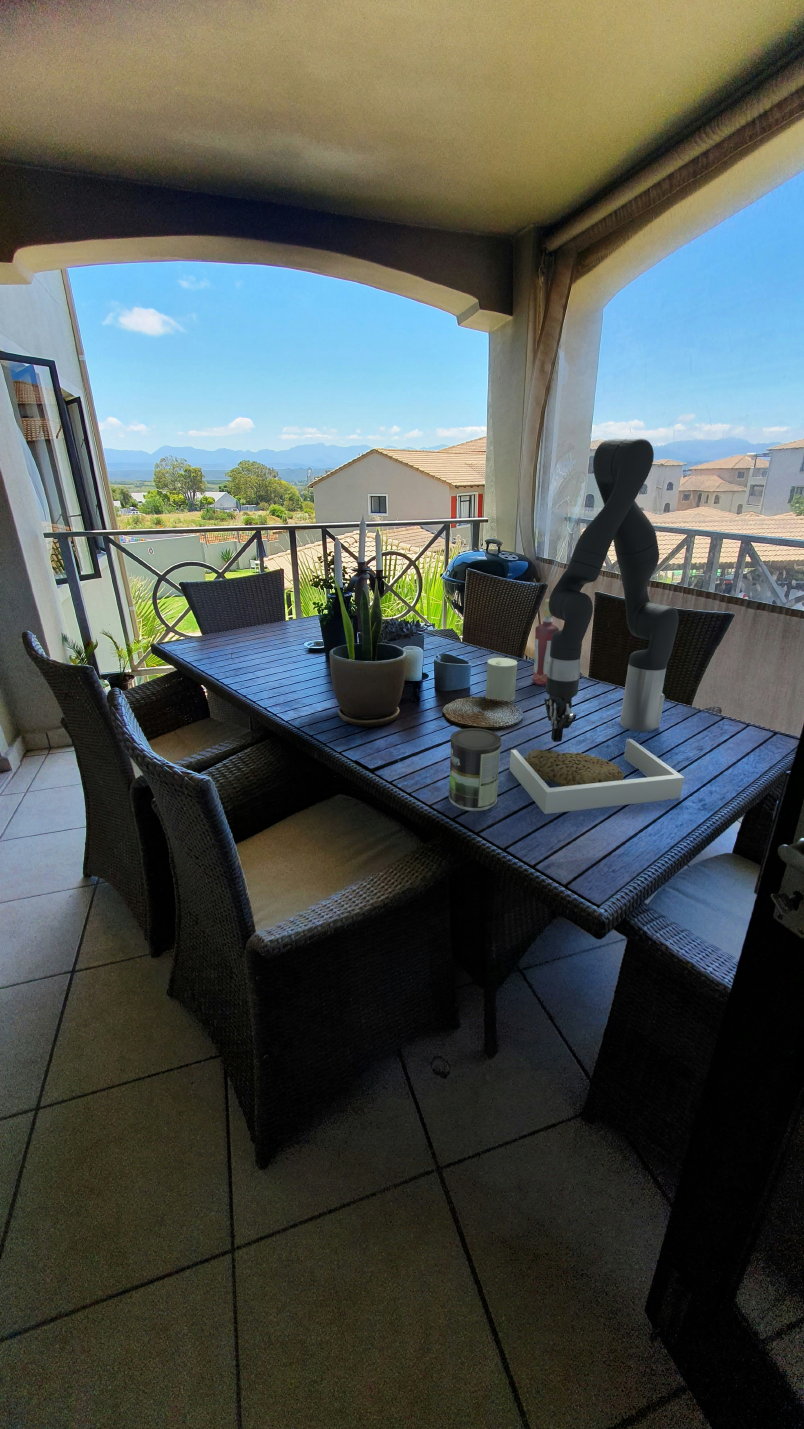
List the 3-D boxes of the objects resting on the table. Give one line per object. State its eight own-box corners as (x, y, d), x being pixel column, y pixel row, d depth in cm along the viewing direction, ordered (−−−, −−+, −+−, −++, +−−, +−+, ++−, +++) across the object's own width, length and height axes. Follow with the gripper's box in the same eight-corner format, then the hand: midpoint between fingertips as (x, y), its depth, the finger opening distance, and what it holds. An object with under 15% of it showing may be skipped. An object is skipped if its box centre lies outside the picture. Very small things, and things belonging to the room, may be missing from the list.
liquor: (548, 689, 181) (557, 602, 171) (527, 685, 185) (534, 600, 175) (556, 682, 187) (565, 598, 176) (535, 679, 191) (542, 596, 180)
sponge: (518, 785, 126) (603, 799, 112) (518, 750, 125) (604, 761, 111) (548, 775, 136) (630, 787, 122) (548, 743, 135) (631, 751, 121)
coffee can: (453, 812, 113) (455, 750, 108) (445, 787, 123) (446, 728, 117) (502, 810, 114) (507, 747, 109) (491, 785, 123) (494, 726, 118)
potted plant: (393, 699, 174) (391, 567, 159) (417, 725, 155) (417, 578, 140) (326, 707, 168) (318, 570, 152) (342, 735, 149) (334, 582, 133)
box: (628, 757, 135) (631, 738, 134) (680, 798, 118) (684, 777, 116) (509, 769, 130) (510, 750, 128) (544, 814, 112) (547, 792, 111)
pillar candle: (480, 698, 174) (481, 661, 169) (493, 690, 181) (495, 654, 176) (507, 704, 169) (509, 666, 164) (519, 695, 176) (522, 659, 171)
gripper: (591, 682, 128) (583, 750, 134) (565, 665, 140) (558, 728, 146) (560, 685, 127) (553, 753, 133) (536, 667, 139) (531, 731, 145)
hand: (556, 740), depth 140 cm, fingers closed
